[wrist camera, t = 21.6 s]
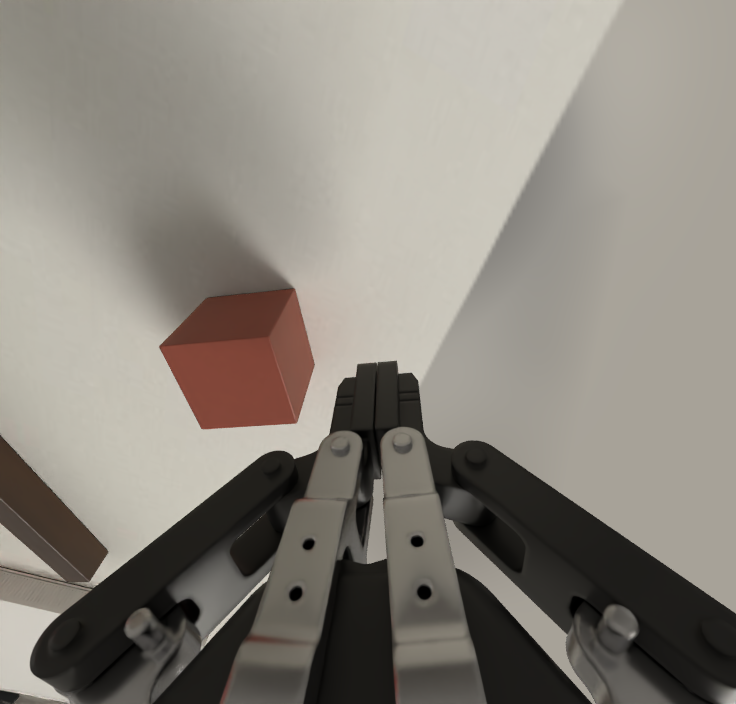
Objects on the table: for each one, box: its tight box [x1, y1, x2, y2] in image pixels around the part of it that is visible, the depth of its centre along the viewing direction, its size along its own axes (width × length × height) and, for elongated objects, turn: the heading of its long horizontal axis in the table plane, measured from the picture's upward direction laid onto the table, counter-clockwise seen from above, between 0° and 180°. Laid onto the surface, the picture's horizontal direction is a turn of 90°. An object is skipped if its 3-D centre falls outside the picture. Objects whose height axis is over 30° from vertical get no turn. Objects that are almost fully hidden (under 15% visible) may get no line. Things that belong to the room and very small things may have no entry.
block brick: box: [159, 289, 315, 429], centre depth 17 cm, size 4×4×4 cm
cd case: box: [0, 568, 209, 703], centre depth 42 cm, size 35×2×31 cm
